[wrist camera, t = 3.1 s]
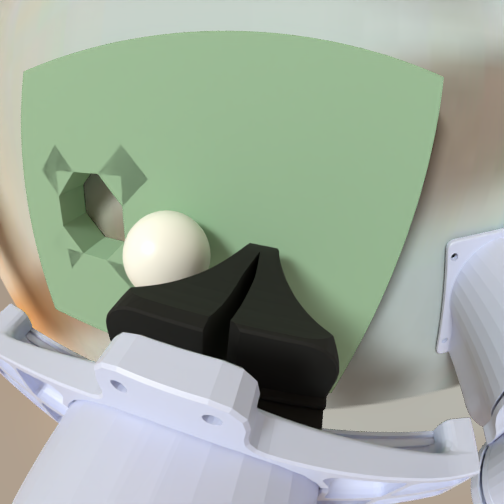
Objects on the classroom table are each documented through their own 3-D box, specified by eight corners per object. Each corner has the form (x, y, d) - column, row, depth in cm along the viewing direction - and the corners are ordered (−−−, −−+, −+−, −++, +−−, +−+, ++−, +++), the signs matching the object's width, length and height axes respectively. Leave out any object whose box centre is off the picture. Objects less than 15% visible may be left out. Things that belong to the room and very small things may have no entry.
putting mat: (423, 81, 10) (443, 77, 8) (331, 367, 20) (331, 392, 18) (48, 70, 13) (23, 71, 11) (71, 293, 23) (55, 308, 20)
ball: (233, 264, 14) (206, 315, 11) (168, 275, 15) (133, 321, 12) (204, 188, 13) (163, 221, 9) (138, 210, 14) (90, 244, 10)
